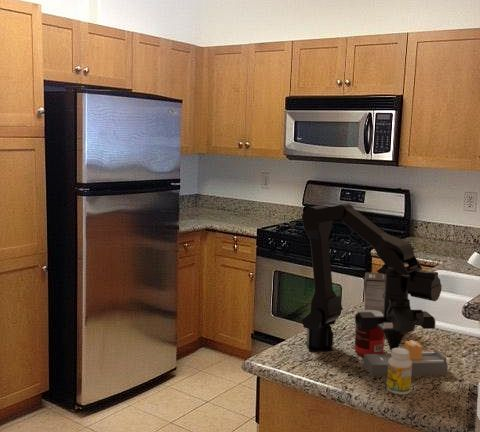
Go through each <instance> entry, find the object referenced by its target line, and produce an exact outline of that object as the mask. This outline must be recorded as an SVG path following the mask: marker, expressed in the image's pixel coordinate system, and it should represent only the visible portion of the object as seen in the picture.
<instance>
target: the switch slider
mask: <svg viewBox="0 0 480 432" xmlns="http://www.w3.org/2000/svg"><path fill="white" fill-rule="evenodd" d="M404 349H407V350H408V351H409V358H408V359H410V360H422V352H423V346H422V345H421V344H420V343H419V342H418V341H417V340H413V339H410V340H405V341H404Z"/></svg>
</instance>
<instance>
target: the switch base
mask: <svg viewBox="0 0 480 432" xmlns="http://www.w3.org/2000/svg"><path fill="white" fill-rule="evenodd" d="M433 350H434V351H422V360H411V362H412V373H411V377H414V376H416V377H422V376H424V377H425V376H426V377H427V376H447V375H448V363H447V357H446V356H444V355H443V354H442V353H441V352H440V351H439V350H438V349H435V348H434V349H433ZM390 357H392V355H391V353H382V354H364V357H363V367H364V368H365V369H366V370H367V373H368V374H370V377H372V378H373V377H374V378H375V377H376V378H377V377H387V373H388V360H389V358H390Z"/></svg>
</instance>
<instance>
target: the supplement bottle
mask: <svg viewBox="0 0 480 432" xmlns="http://www.w3.org/2000/svg"><path fill="white" fill-rule="evenodd" d="M404 348H405V347H404ZM404 348H403V347H398V348H393V349H392V350H390V354H391V355H392V357H390V358H389V360H388V373H387V376H386V380H387V381H386V389H387V390H388V391H389V392H390V393H392V394H396V395H399V396H401V395H402V396H403V395H408V394H409V393H411V388H412V376H411V373H412V362H411V360H410V359H408V358H409V351H408V350H407V349H404Z"/></svg>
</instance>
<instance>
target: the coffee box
mask: <svg viewBox="0 0 480 432" xmlns="http://www.w3.org/2000/svg"><path fill="white" fill-rule="evenodd" d="M363 287H364V289H363V290H364V291H363V292H364V293H363V310H376V311H380V312H382V309H384V298H383V294H384V291H385V274H381V273H378V272H365V274H364V286H363Z"/></svg>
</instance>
